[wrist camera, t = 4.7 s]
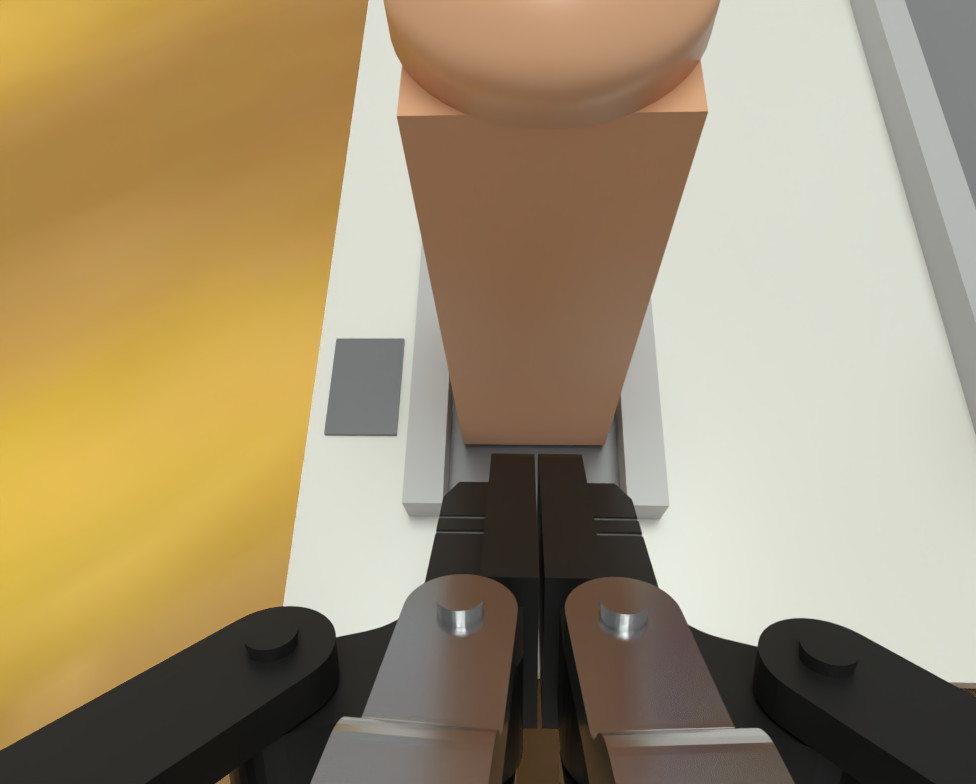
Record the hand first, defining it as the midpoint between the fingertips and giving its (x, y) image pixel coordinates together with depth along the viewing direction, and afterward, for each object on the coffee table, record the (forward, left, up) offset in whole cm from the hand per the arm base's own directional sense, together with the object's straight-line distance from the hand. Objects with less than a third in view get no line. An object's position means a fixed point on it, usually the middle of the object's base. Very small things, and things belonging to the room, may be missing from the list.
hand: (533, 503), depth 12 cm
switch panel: (-5, +9, -5) cm, 11 cm away
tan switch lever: (-3, +2, -3) cm, 4 cm away
